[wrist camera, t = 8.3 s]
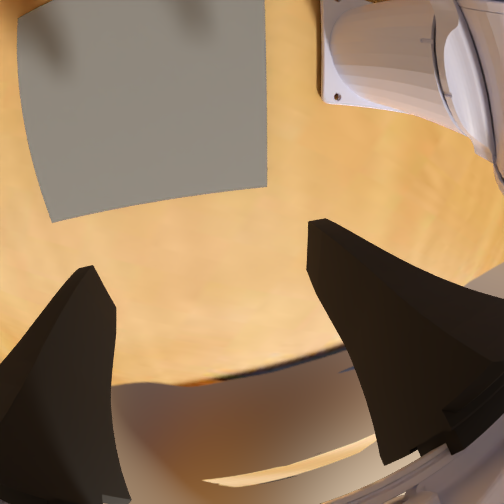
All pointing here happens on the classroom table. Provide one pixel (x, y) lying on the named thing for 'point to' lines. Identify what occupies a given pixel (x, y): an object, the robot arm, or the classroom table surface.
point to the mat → (143, 100)
